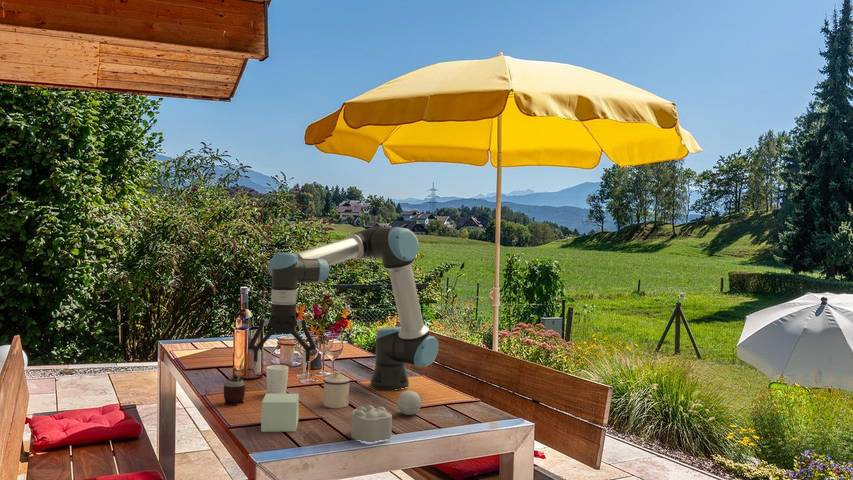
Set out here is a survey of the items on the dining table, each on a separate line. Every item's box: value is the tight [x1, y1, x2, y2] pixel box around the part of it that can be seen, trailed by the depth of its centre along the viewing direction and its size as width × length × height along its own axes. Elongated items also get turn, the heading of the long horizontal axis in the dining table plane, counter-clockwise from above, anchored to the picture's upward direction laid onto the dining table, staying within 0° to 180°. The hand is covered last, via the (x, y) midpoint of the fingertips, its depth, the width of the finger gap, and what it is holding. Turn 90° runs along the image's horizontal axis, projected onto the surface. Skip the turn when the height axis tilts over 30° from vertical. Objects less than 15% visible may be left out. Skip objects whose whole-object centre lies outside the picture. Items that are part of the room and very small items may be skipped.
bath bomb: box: [397, 390, 422, 416], centre depth 220 cm, size 8×8×8 cm
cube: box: [260, 393, 300, 433], centre depth 203 cm, size 10×10×9 cm
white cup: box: [265, 364, 290, 394], centre depth 240 cm, size 8×8×10 cm
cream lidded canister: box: [323, 370, 351, 409], centre depth 230 cm, size 12×9×12 cm
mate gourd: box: [223, 356, 246, 407], centre depth 227 cm, size 8×8×15 cm
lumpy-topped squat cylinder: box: [350, 404, 393, 442], centre depth 196 cm, size 10×13×9 cm
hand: (281, 372), depth 202 cm, fingers open, 13 cm apart
